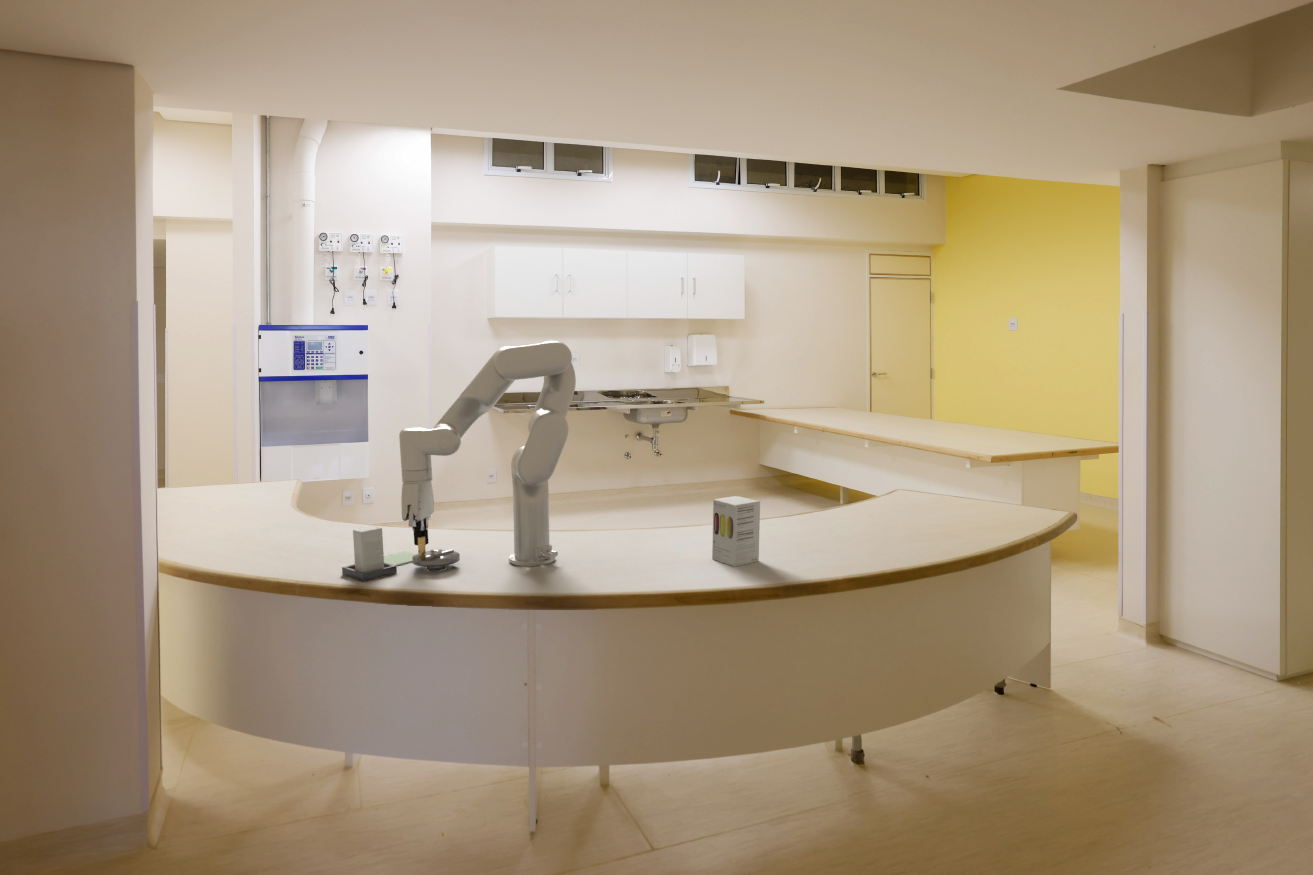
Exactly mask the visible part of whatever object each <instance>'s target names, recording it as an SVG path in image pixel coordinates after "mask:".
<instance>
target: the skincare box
mask: <svg viewBox="0 0 1313 875" xmlns="http://www.w3.org/2000/svg"><path fill="white" fill-rule="evenodd" d="M352 536H353V538H352V539H353V552H354V564H355V570H357V571H360V572H363V573H365V572H369V571H373V570H377V569H381V568H384V556H385V555H384V541H383V540H384V539H383V538H384V537H383V527H380V526H377V525H376V526H375V525H371V526H370V525H369V526H366V527H361V528H357V529H353V530H352Z"/></svg>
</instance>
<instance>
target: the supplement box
mask: <svg viewBox="0 0 1313 875" xmlns="http://www.w3.org/2000/svg"><path fill="white" fill-rule="evenodd" d="M712 502H713V504H712V506H713V507H712V508H713V509H712V510H713V511H712V512H713V513H712V548H711V549H712V550H711V552H712V555H711V556H712V558H711V559H712V560H714V561H718V562H720V563H723V564H727V565H728V566H732V567H738V566H739V567H740V566H743V565H747V564H752V563H756V562H759V560H760V559H759V557H760V524H761V523H760V522H761V520H760V517H761V501H760V500H755V499H752V498H748V497H743V496H740V495H734V496H728V497H727V496H726V497H719V498H715V499H713V501H712Z"/></svg>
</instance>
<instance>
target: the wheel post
mask: <svg viewBox="0 0 1313 875" xmlns="http://www.w3.org/2000/svg"><path fill="white" fill-rule="evenodd" d="M446 569H447V565H446V566H439V567H426V570H427V571H429V572H440V571H444V570H446Z"/></svg>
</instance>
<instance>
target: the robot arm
mask: <svg viewBox="0 0 1313 875" xmlns="http://www.w3.org/2000/svg"><path fill="white" fill-rule="evenodd" d="M571 351H572V350H571V349H570V348H569V347H568V346H567V345H566V344H565V343H564V342H562V341H558V340H547V341H542V342H540V343H533V344H528V345H519V346H518V345H517V346H516V345H515V346H502V347H499V348H498V349H497V350H496V351H495V352H494V353H493V354H492V356H491V357H490V358H489V359H488V360H487V362H486V363H485V364H484V365H483V367H481V369H480V370H479V372H477V374H476V376H474V377H473V379H472V380H471V381H470V383H469V384H468V385H467V386H466V387H465V389H464V390H462V392H461V394H459V397H458V398H457V399H456V400H455V401H454V402H453V404H452V405H451V406H450V407H449V408H448V409H447V410H446V412H445V413H444V414H443V415H442V417H440V419H439V420H438V421H437V423H436V424H435V425H434V427H433V428H432V429H431V428H430V429H428V428H426V427H407V428H403V429H402V430H400V432H399V451H400V452H399V453H400V465H401V466H400V467H401V481H402V486H401V496H400V497H401V501H400V503H401V506H400V507H401V519H402V521H404V522H407V521H408V527H411V528H412V529H411V530H412V531H413V543H414V545H415V546H418V537H421V536H424V537H425V546H426V545H428V544H429V529H428V528H429V520H430V519H431V517H432V515H433V513H434V512H435V498H434V490H433V489H434V488H433V483H432V481H433V470H432V469H433V467H432V456H440V457H447V456H452V455H454V454H456V453H457V452H458V451H459V449H460V447H461V444H462V441H461V439H462V438H463V437H464V435H465V434H466V433H467V431H468V430H469V429H470V428H471V426H472V425H473V424H475V423H476V421H477V420H478V419H479V418H481V417H482V416H483V415H485V414H487V413H488V412H490V411H491V410H492V409H493V408H494V407H495V405H496V404H497V403H498V402H499V400H501V398H502V396H503V395H504V394H505V393H506V392H507V391H508V389H509V388H510V387H511V386H512V385H513V384H514V382H515V381H516V380H527V379H534V378H542V377H543V383H542V384H543V385H542V388H541V391H540V394H539V396H538V399H537V402H536V404H535V407H534V409H533V411H532V412H531V416H530V417H529V420H528V424H527V429H528V433H529V435H528V437H527V439H526V442H525V445H523V446H519V448H518V449H516V450H515V451H514V454H513V456H512V458H511V477H512V478H511V479H512V496H513V497H512V498H513V499H512V500H513V506H512V507H513V508H512V509H513V510H512V511H513V544H514V545H513V548H514V549H513V550H514V553H511V554H510V555H509V556H508V562H509V563H510V564H512V565H516V566H522V567H536V566H544V565H547V564H548V565H549V564H551V563H553V562H554V561H555V560H556V557H558V555H559V552H558V551H556V550H553V544H551V543H550V493H549V492H550V490H549V480H550V479H551V477H552V476H553V474H554V472H555V469H556V468H557V465H558V463H559V460H560V458H561V455H562V452H563V450H564V447H565V445H566V442H567V439H568V435H569V423H568V421H567V419H566V418H567V416H568V412H569V410H570V405H571V403H572V400H573V399H574V398H573V397H574V393H575V391H576V382H577V381H576V380H577V378H576V372H575V369H574V368H575V367H574V366H573V363H572V361H573V360H572V359H573V355H572V352H571Z"/></svg>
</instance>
